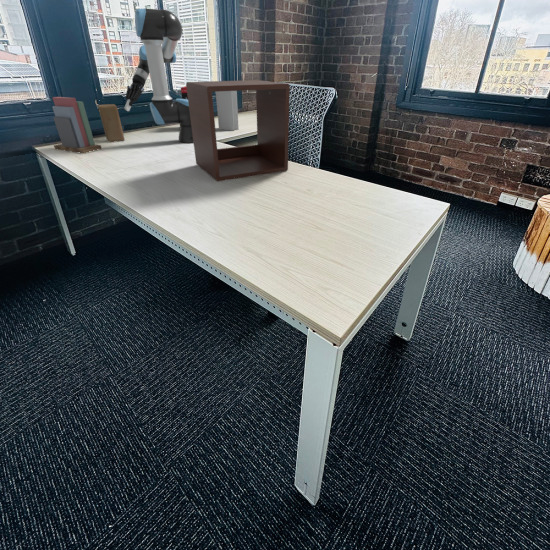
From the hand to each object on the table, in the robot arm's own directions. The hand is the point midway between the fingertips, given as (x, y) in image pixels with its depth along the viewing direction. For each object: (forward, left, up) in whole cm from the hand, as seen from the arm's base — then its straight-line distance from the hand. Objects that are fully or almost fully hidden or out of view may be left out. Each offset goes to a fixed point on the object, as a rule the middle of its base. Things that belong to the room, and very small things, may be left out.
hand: (126, 109), depth 212 cm
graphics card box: (-19, -41, -16) cm, 48 cm away
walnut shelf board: (0, +41, -16) cm, 44 cm away
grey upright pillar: (-44, -50, -16) cm, 68 cm away
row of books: (0, +40, -14) cm, 43 cm away
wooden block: (0, +14, -16) cm, 21 cm away
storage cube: (-104, +34, -16) cm, 111 cm away
